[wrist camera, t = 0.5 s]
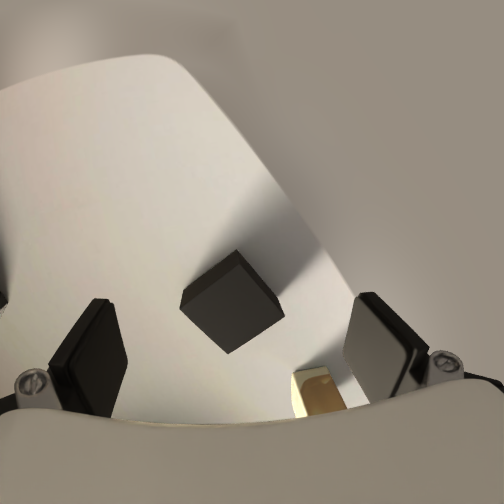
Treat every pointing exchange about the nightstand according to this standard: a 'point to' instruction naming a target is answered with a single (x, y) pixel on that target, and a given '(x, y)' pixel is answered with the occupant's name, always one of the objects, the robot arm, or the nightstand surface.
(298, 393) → the cosmetic box
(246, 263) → the dark grey square block
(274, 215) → the nightstand surface
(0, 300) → the frame pad
